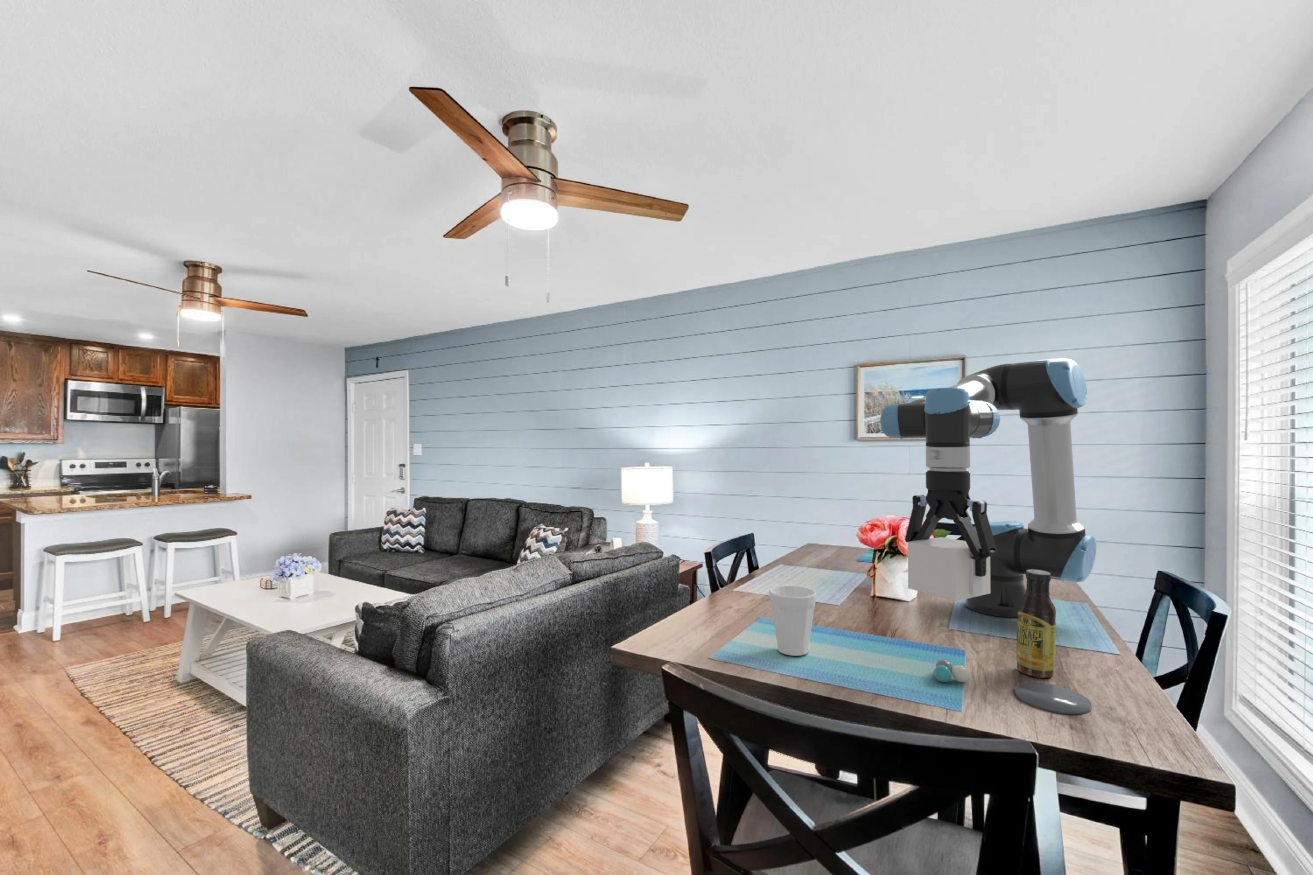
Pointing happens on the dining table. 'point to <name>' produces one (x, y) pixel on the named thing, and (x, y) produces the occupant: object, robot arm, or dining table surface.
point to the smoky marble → (945, 664)
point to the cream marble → (960, 673)
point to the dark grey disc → (1053, 698)
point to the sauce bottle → (1036, 627)
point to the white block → (942, 568)
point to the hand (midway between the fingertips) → (948, 586)
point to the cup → (792, 617)
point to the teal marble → (942, 673)
